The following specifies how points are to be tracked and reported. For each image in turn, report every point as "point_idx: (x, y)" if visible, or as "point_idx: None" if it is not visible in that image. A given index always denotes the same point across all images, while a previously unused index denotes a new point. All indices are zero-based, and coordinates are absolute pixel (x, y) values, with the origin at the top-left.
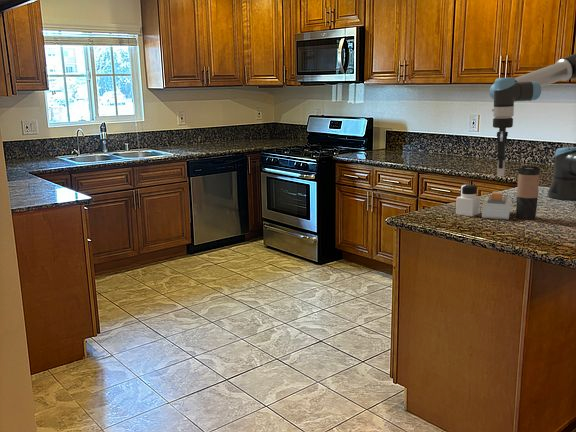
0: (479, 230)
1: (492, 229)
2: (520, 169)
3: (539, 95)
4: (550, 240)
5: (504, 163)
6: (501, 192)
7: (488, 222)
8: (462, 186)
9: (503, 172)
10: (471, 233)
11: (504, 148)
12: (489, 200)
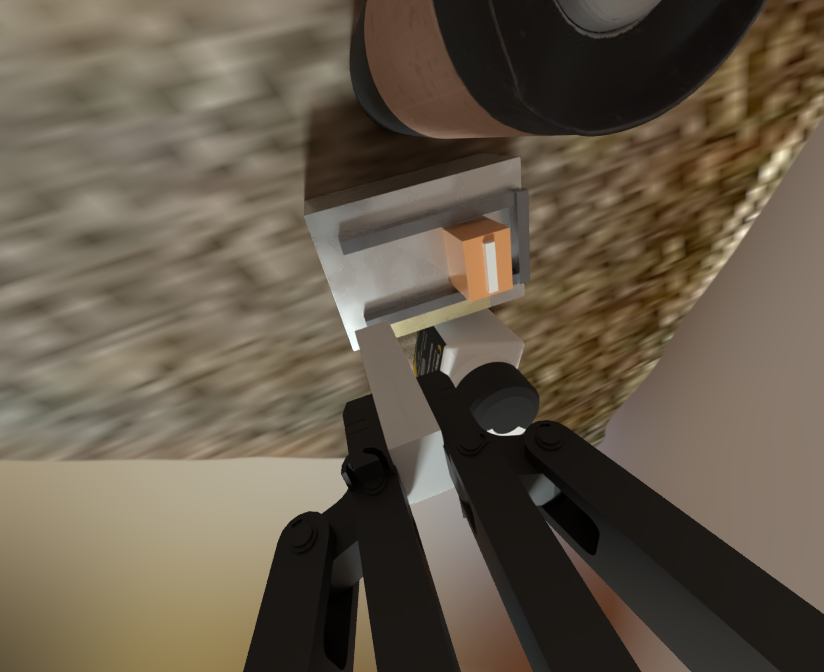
0: (683, 200)
1: (666, 161)
2: (692, 81)
3: None
4: None
5: (417, 402)
6: (493, 242)
7: (561, 217)
8: (521, 433)
9: (397, 342)
10: (721, 209)
11: (620, 642)
12: (528, 272)
